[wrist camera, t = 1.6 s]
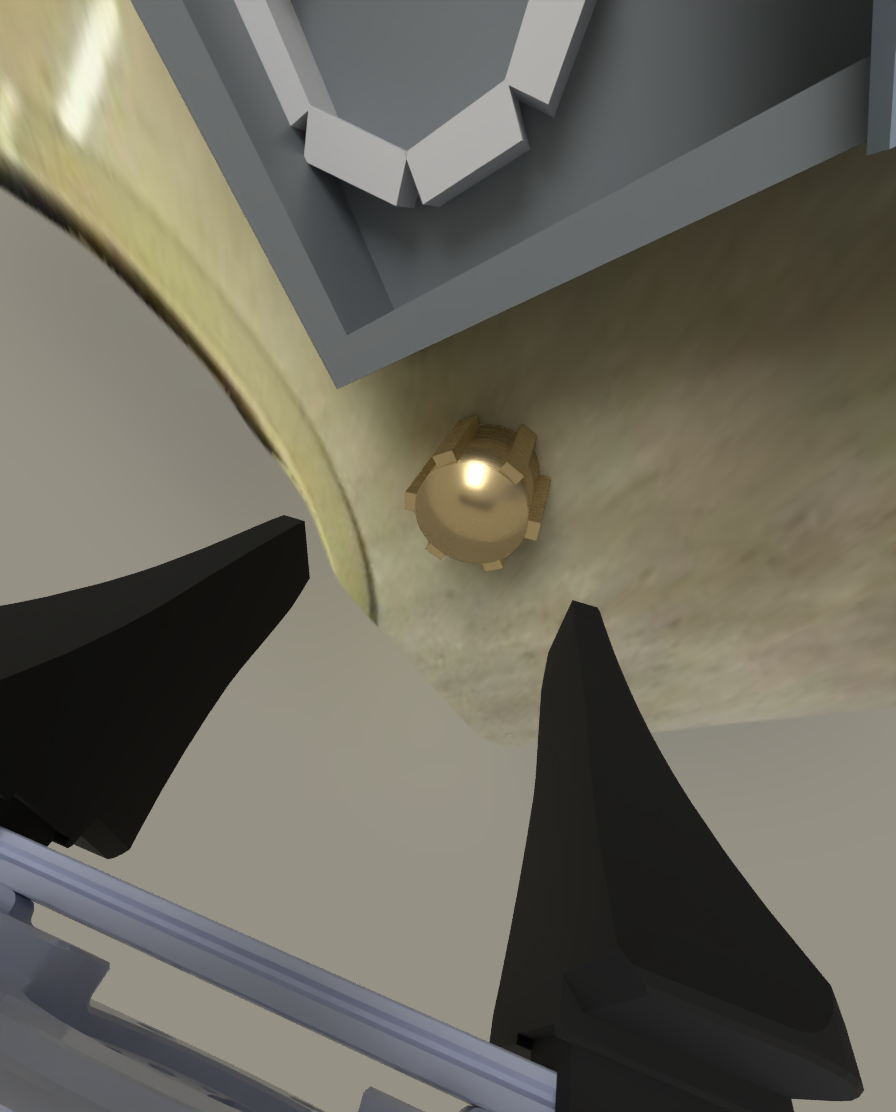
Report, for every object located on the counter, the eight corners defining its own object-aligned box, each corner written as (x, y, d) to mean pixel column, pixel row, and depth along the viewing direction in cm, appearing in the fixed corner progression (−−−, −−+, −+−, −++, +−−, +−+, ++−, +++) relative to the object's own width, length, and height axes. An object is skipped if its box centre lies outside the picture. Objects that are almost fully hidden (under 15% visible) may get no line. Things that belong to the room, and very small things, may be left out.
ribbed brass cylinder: (561, 509, 19) (553, 560, 16) (463, 531, 22) (440, 580, 19) (524, 396, 17) (507, 432, 14) (418, 434, 19) (384, 473, 16)
